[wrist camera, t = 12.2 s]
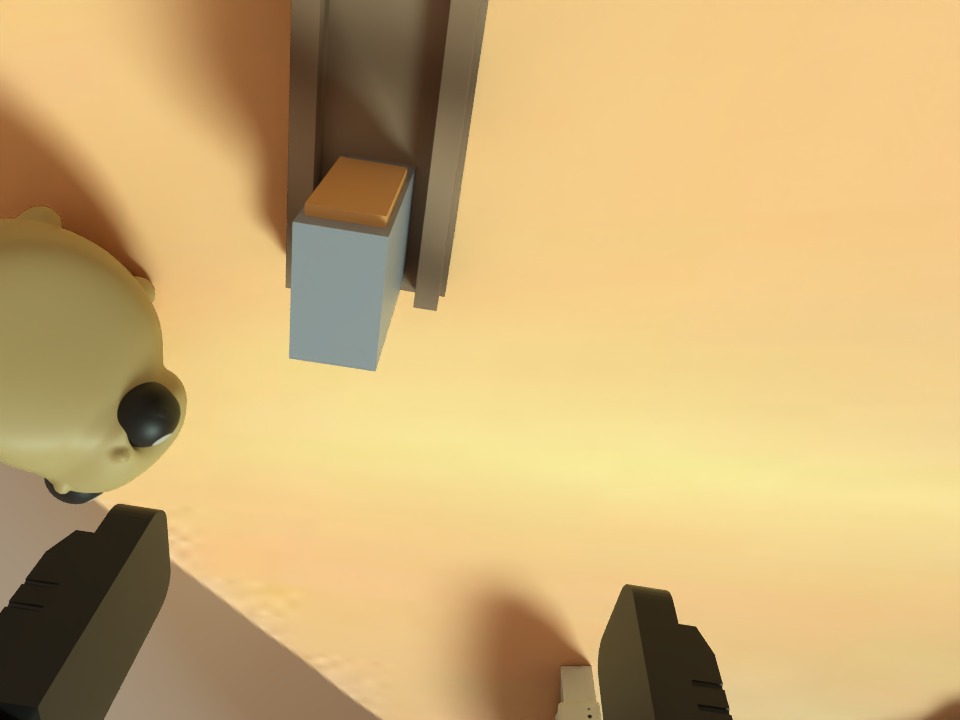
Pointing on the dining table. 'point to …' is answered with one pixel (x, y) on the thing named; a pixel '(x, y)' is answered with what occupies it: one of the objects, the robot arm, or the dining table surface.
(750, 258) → the dining table surface
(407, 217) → the grey rectangular block
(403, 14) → the rail
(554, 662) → the dining table surface
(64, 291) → the toy pig
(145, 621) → the robot arm
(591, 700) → the grey rectangular slab
